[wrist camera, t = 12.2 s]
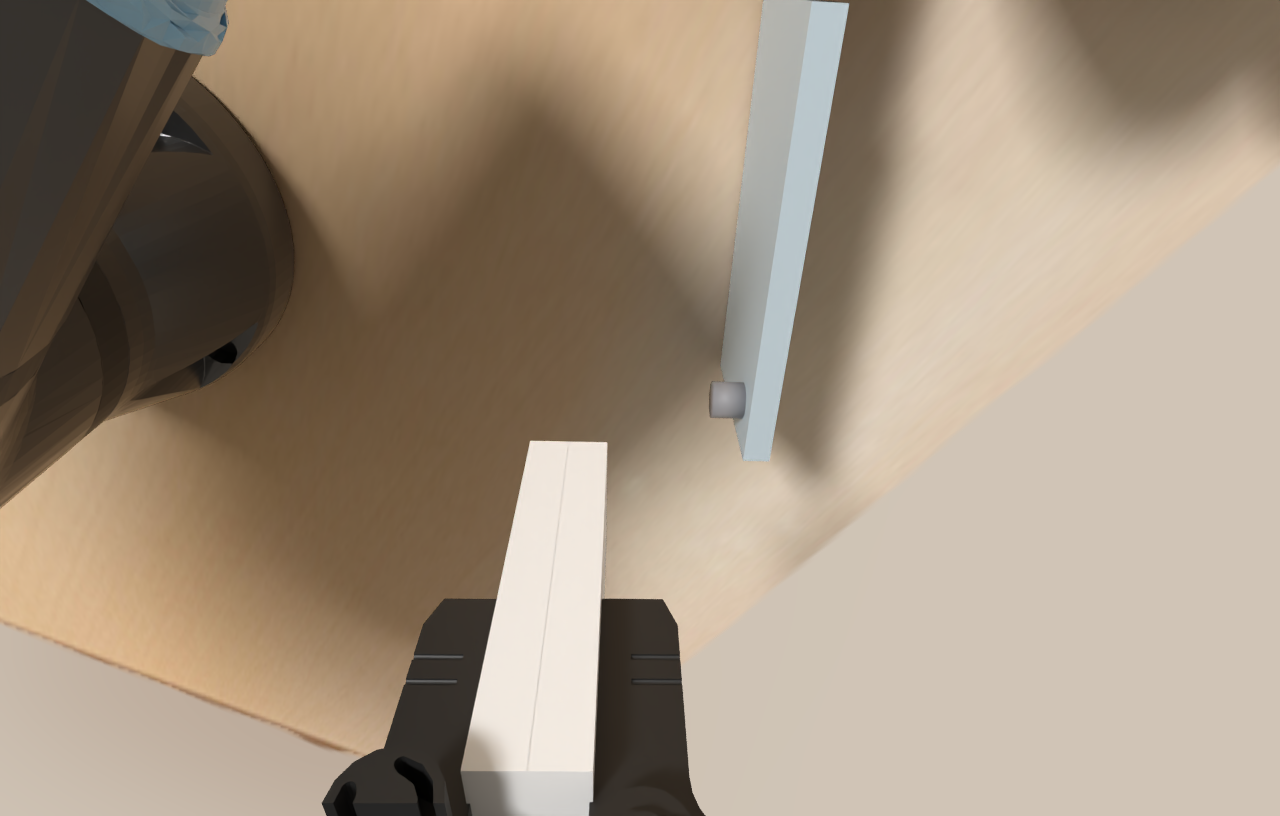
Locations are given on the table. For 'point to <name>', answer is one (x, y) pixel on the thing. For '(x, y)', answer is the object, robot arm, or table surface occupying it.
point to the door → (776, 210)
